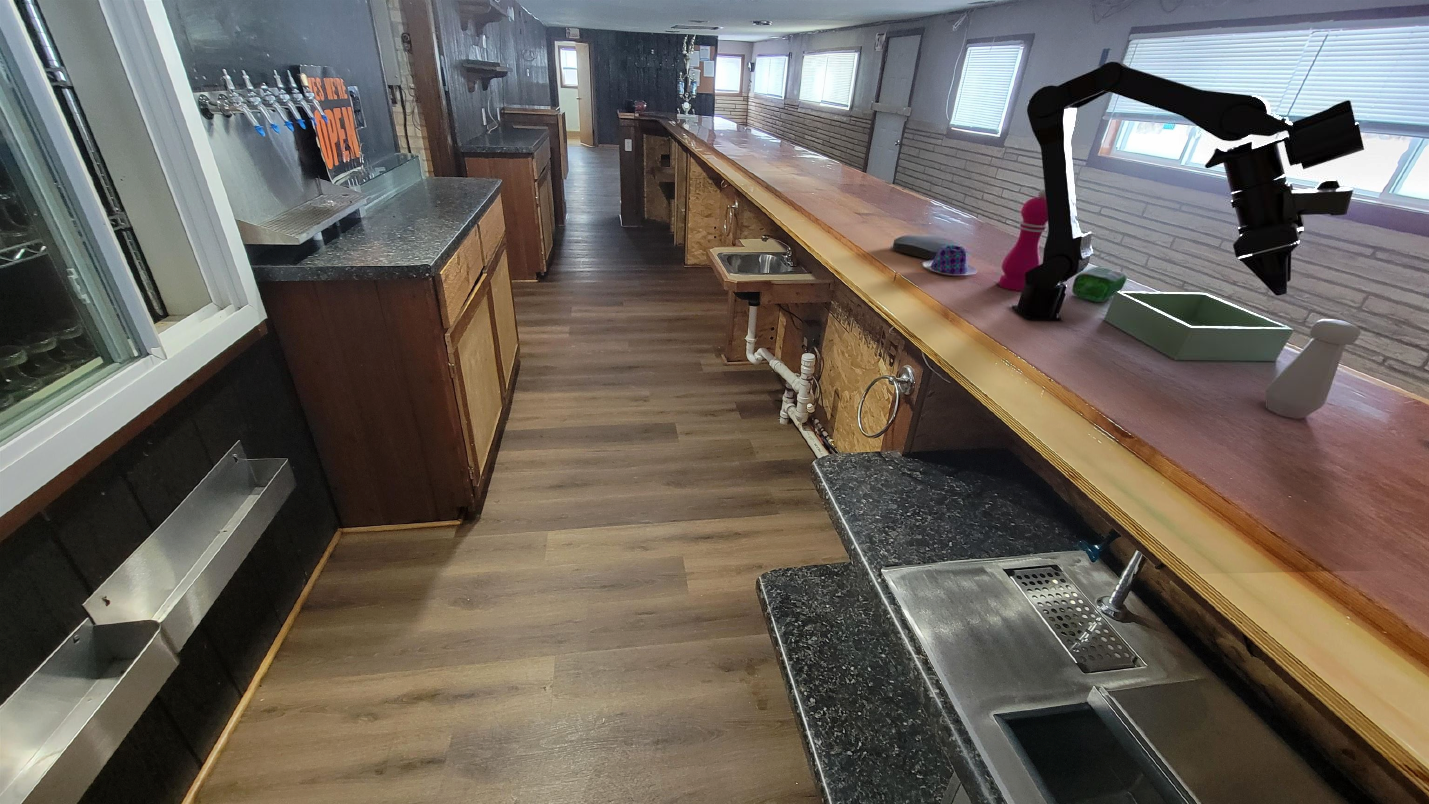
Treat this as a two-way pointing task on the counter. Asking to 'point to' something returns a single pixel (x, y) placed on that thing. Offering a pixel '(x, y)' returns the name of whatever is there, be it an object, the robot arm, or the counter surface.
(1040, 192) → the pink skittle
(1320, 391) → the salt shaker
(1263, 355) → the bin
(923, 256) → the media streaming box
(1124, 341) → the counter surface
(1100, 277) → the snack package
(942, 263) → the patterned bucket hat
